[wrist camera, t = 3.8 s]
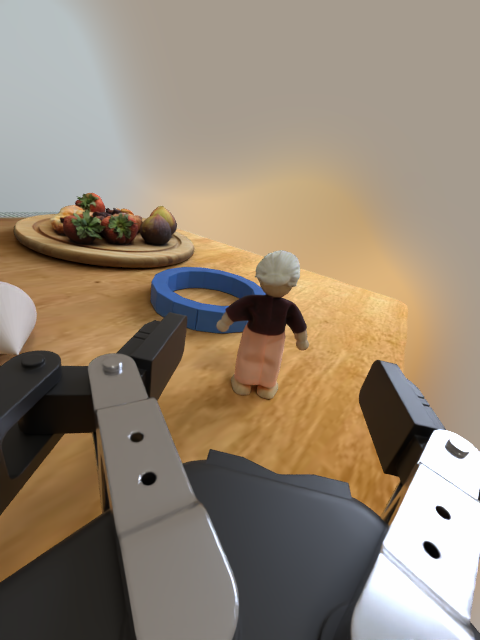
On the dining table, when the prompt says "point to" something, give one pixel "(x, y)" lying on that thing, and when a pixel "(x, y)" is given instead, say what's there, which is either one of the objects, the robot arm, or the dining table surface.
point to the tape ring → (198, 313)
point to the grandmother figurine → (266, 325)
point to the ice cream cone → (15, 318)
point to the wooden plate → (106, 236)
